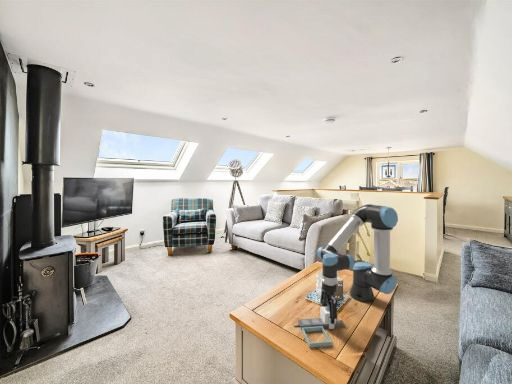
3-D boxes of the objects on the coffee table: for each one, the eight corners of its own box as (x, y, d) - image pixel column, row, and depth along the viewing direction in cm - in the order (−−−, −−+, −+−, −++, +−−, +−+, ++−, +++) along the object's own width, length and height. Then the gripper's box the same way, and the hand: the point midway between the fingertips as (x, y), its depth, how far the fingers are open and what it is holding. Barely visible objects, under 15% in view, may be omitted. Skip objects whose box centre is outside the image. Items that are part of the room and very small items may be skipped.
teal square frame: (321, 331, 117) (322, 326, 117) (331, 347, 106) (331, 341, 106) (301, 333, 116) (301, 327, 116) (309, 349, 105) (309, 343, 105)
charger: (330, 320, 125) (331, 306, 124) (335, 327, 119) (336, 312, 118) (320, 320, 124) (320, 306, 124) (324, 328, 118) (325, 313, 118)
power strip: (339, 321, 125) (339, 315, 125) (343, 328, 120) (344, 321, 120) (292, 325, 122) (292, 318, 122) (295, 331, 117) (295, 325, 117)
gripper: (315, 274, 130) (313, 311, 132) (331, 293, 109) (329, 337, 111) (327, 273, 131) (325, 310, 132) (345, 292, 110) (344, 336, 112)
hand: (327, 322), depth 122 cm, fingers open, 8 cm apart
